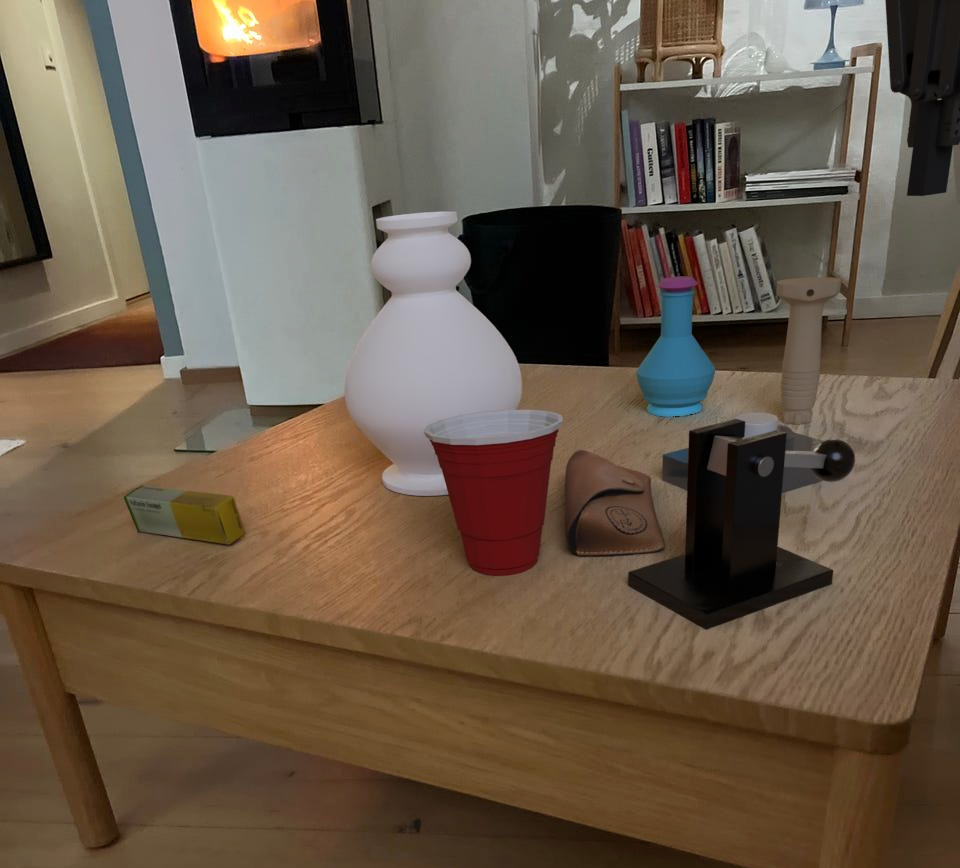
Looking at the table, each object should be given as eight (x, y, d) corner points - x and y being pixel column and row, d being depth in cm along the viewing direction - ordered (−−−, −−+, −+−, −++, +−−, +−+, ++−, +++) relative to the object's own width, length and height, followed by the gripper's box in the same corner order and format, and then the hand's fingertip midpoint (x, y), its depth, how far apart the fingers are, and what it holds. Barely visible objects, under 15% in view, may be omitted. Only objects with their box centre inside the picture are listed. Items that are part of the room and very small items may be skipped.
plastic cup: (553, 529, 83) (547, 393, 77) (582, 578, 73) (578, 428, 68) (432, 544, 82) (417, 408, 76) (445, 596, 72) (429, 445, 67)
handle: (765, 416, 108) (775, 279, 101) (823, 415, 107) (838, 276, 100) (768, 428, 104) (778, 286, 97) (828, 427, 103) (844, 283, 96)
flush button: (755, 427, 91) (757, 410, 90) (786, 436, 88) (787, 418, 87) (724, 436, 89) (725, 418, 89) (753, 445, 86) (754, 426, 85)
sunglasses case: (672, 547, 76) (630, 482, 74) (598, 590, 78) (554, 528, 76) (651, 475, 92) (616, 419, 89) (590, 513, 94) (554, 459, 92)
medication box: (135, 533, 90) (120, 495, 88) (155, 521, 92) (141, 483, 90) (228, 546, 85) (215, 506, 82) (247, 532, 87) (235, 493, 84)
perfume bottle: (649, 397, 119) (650, 273, 112) (721, 401, 115) (727, 271, 108) (626, 417, 112) (625, 285, 105) (702, 421, 108) (707, 284, 101)
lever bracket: (747, 547, 76) (756, 403, 71) (832, 584, 69) (850, 427, 64) (627, 585, 72) (627, 435, 66) (706, 630, 65) (713, 465, 59)
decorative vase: (486, 440, 108) (469, 203, 97) (555, 482, 94) (545, 209, 82) (338, 469, 103) (300, 222, 91) (387, 518, 88) (349, 231, 76)
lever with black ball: (824, 476, 73) (836, 435, 72) (857, 487, 71) (869, 444, 70) (700, 473, 67) (710, 428, 66) (731, 484, 64) (742, 438, 63)
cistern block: (769, 451, 97) (772, 408, 95) (844, 475, 89) (850, 428, 87) (661, 480, 92) (662, 436, 90) (732, 509, 84) (734, 460, 82)
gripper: (862, -167, 67) (828, 197, 78) (1035, -231, 56) (967, 200, 68) (934, -162, 70) (891, 189, 81) (1111, -222, 59) (1034, 190, 70)
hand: (926, 193), depth 74 cm, fingers closed
